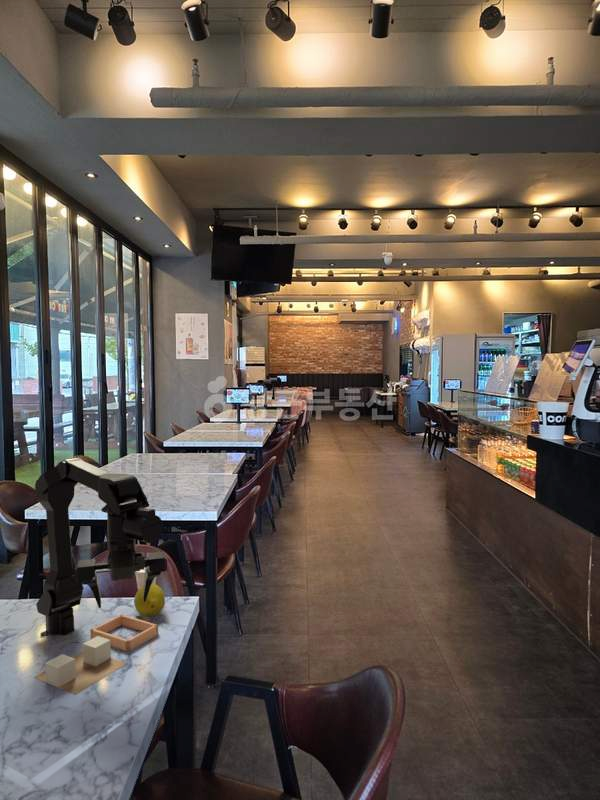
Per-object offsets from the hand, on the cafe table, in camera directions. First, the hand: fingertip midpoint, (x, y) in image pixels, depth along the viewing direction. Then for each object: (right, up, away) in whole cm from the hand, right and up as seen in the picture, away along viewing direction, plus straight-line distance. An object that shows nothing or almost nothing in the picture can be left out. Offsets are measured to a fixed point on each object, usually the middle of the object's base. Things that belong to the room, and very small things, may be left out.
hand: (122, 604), depth 118 cm
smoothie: (-4, -12, +32) cm, 34 cm away
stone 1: (-10, -12, -8) cm, 18 cm away
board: (-7, -13, -4) cm, 16 cm away
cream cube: (-5, -12, 0) cm, 13 cm away
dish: (-3, -13, +10) cm, 17 cm away
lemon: (-1, -12, +24) cm, 27 cm away
